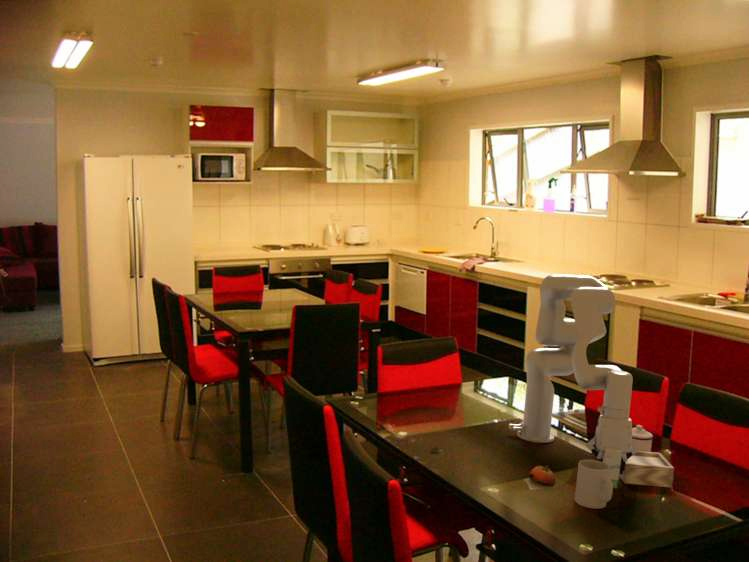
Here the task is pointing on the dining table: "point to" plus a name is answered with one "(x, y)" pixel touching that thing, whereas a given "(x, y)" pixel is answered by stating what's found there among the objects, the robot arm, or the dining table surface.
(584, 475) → the mug
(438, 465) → the dining table surface
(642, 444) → the teacup with lid
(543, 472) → the tomato
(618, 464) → the ink box
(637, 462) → the tray
